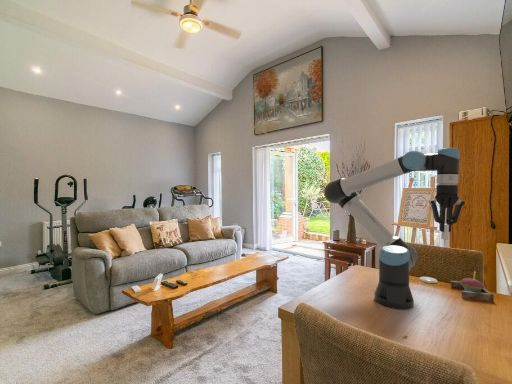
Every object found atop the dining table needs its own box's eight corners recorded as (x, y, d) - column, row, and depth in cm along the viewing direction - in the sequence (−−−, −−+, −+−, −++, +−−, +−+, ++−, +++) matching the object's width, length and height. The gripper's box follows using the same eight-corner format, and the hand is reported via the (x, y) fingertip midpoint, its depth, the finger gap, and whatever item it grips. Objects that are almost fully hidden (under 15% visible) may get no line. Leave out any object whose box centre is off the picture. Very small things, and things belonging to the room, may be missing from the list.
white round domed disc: (421, 282, 136) (421, 280, 136) (417, 277, 144) (417, 276, 144) (439, 284, 134) (439, 282, 134) (434, 279, 141) (434, 277, 141)
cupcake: (488, 297, 118) (489, 271, 117) (469, 297, 118) (469, 271, 118) (473, 290, 126) (473, 265, 126) (455, 290, 126) (455, 265, 126)
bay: (462, 298, 117) (462, 291, 117) (450, 286, 131) (450, 280, 131) (493, 301, 114) (493, 294, 113) (477, 289, 127) (477, 283, 127)
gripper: (433, 184, 109) (431, 240, 110) (469, 184, 106) (467, 242, 107) (426, 184, 117) (424, 236, 117) (460, 184, 114) (457, 238, 114)
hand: (444, 239), depth 112 cm, fingers closed
